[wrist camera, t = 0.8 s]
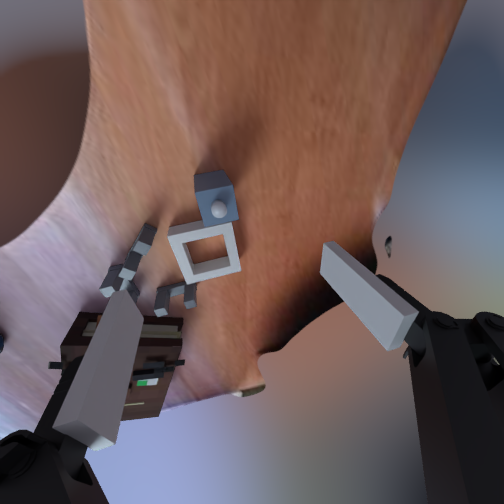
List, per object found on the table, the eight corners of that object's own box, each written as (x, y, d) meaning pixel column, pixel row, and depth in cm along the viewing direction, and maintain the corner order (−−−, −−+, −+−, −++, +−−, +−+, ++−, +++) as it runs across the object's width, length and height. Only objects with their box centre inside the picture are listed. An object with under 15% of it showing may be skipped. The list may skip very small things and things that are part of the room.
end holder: (228, 214, 32) (231, 222, 29) (237, 260, 37) (241, 270, 34) (169, 227, 30) (167, 236, 28) (187, 273, 35) (187, 284, 33)
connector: (223, 169, 28) (234, 188, 20) (228, 197, 30) (241, 223, 23) (193, 175, 27) (194, 196, 20) (201, 203, 30) (205, 231, 22)
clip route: (170, 217, 30) (167, 233, 26) (196, 286, 37) (197, 306, 33) (88, 234, 28) (71, 254, 24) (133, 302, 36) (126, 326, 32)
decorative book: (56, 439, 40) (44, 339, 27) (74, 396, 46) (71, 298, 33) (162, 425, 47) (192, 342, 35) (165, 390, 54) (192, 308, 41)
